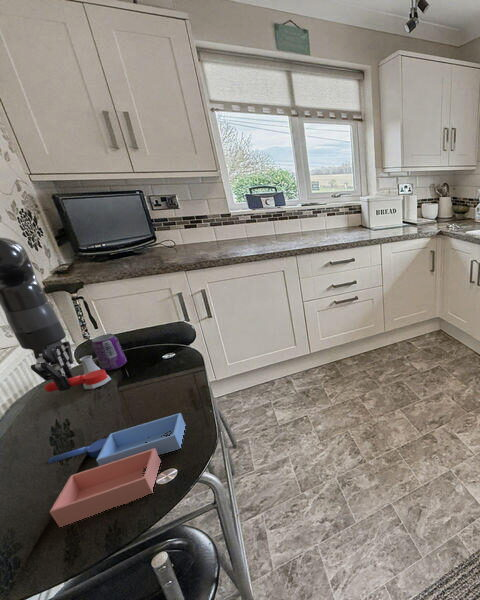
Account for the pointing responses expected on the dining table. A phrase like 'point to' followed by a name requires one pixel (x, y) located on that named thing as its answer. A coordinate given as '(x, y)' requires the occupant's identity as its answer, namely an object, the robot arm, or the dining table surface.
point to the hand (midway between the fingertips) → (68, 386)
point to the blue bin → (144, 439)
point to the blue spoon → (82, 451)
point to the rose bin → (106, 487)
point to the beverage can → (108, 351)
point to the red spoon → (81, 380)
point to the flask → (90, 367)
